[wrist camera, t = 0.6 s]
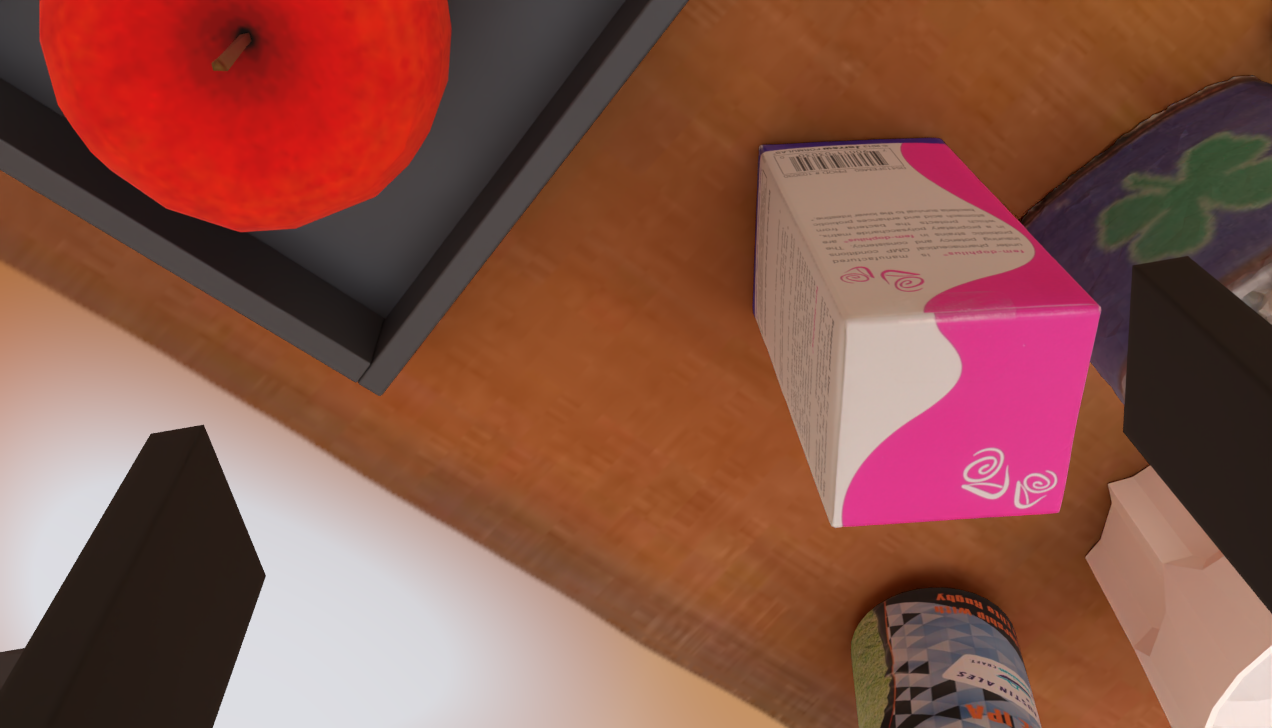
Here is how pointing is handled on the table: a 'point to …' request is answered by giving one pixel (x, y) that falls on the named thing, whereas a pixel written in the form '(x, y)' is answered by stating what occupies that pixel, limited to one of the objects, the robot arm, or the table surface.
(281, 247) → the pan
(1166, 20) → the table surface
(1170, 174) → the flask
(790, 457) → the table surface
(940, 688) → the beverage can
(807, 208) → the supplement box
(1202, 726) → the cup
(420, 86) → the apple
